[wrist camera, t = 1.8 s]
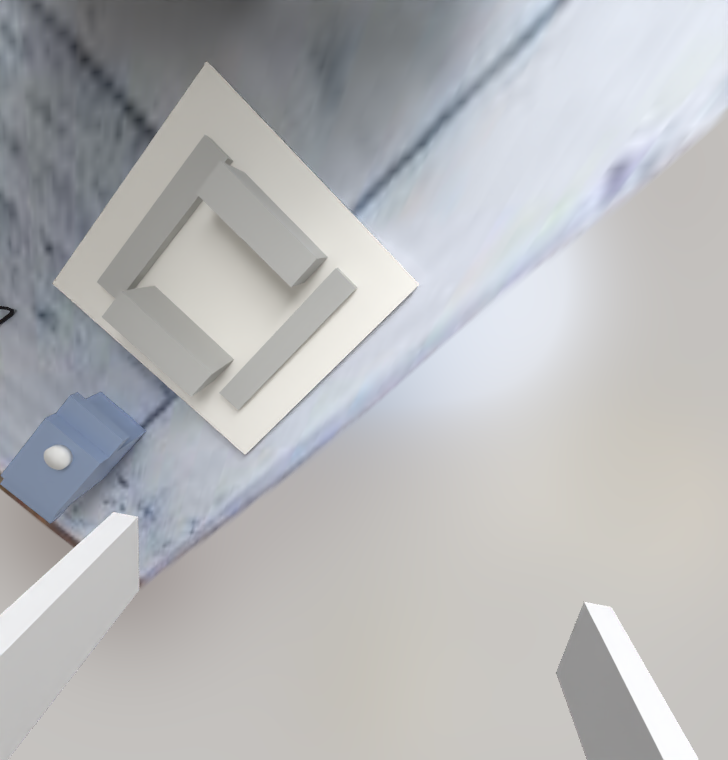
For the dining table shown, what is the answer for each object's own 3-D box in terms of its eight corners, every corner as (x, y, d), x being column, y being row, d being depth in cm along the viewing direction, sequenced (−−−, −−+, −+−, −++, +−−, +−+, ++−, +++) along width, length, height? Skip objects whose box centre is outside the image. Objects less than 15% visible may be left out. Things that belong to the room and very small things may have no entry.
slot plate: (62, 282, 34) (6, 288, 29) (213, 67, 29) (175, 31, 24) (249, 449, 37) (226, 479, 32) (418, 283, 32) (421, 289, 27)
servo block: (49, 455, 39) (-19, 494, 33) (113, 376, 36) (52, 403, 30) (92, 490, 40) (34, 536, 34) (159, 416, 37) (109, 450, 31)
